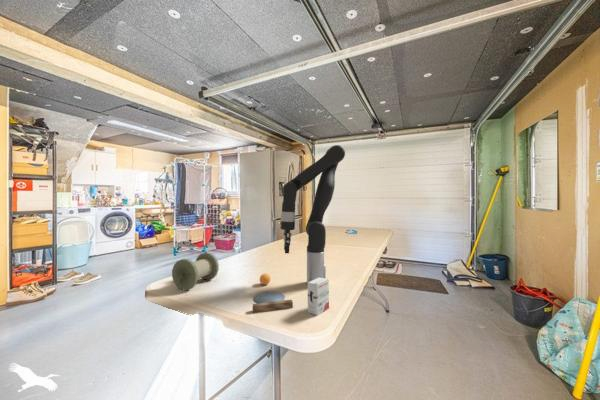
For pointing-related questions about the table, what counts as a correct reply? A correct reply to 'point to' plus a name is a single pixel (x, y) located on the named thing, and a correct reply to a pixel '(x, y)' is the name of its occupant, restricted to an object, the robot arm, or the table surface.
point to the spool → (194, 270)
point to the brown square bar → (272, 306)
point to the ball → (264, 279)
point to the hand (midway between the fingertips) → (286, 251)
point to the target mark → (269, 297)
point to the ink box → (318, 295)
